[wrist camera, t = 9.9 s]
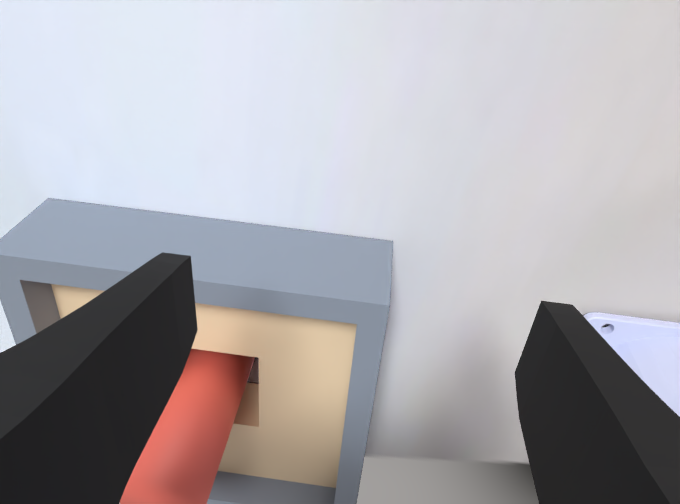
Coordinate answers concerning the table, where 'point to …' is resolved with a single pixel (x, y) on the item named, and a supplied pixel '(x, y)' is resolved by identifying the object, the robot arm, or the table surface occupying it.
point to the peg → (191, 432)
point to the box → (236, 328)
